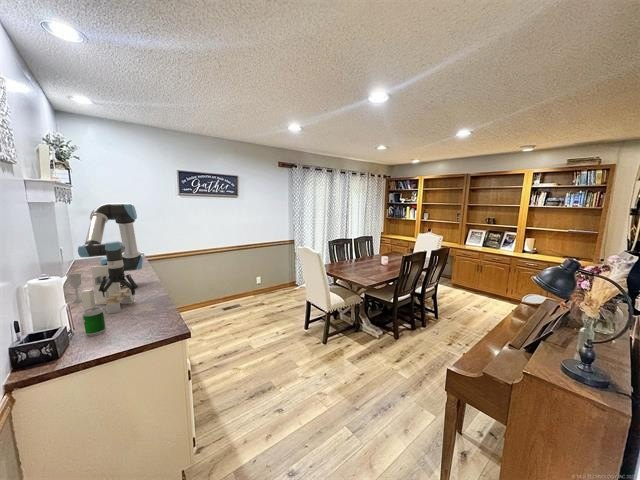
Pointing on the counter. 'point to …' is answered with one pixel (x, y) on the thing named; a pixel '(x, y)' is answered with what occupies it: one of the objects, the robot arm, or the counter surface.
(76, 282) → the chalice
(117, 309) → the stand
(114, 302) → the rail
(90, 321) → the soda can
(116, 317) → the counter surface
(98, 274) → the white shelf
